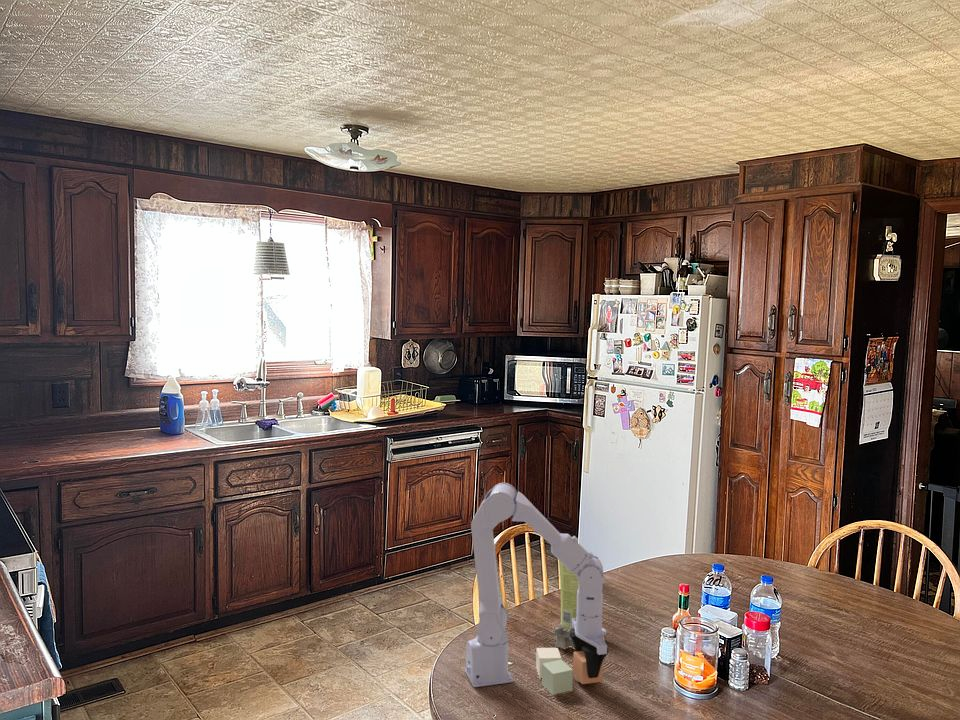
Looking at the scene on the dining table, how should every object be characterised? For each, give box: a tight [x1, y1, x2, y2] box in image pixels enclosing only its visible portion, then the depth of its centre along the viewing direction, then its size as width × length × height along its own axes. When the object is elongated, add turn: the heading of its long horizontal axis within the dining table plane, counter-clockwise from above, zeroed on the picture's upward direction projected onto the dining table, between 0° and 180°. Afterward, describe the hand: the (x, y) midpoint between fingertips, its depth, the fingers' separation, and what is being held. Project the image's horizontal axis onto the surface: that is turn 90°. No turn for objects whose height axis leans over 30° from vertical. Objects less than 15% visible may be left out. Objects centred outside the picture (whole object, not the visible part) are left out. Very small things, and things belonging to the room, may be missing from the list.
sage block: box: [541, 659, 574, 696], centre depth 160 cm, size 5×5×5 cm
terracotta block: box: [572, 651, 604, 685], centre depth 162 cm, size 5×5×5 cm
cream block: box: [535, 647, 562, 679], centre depth 167 cm, size 5×5×5 cm
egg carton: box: [553, 624, 575, 648], centre depth 182 cm, size 11×8×4 cm
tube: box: [558, 560, 579, 627], centre depth 192 cm, size 6×5×20 cm
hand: (587, 670), depth 162 cm, fingers closed on terracotta block, 5 cm apart
